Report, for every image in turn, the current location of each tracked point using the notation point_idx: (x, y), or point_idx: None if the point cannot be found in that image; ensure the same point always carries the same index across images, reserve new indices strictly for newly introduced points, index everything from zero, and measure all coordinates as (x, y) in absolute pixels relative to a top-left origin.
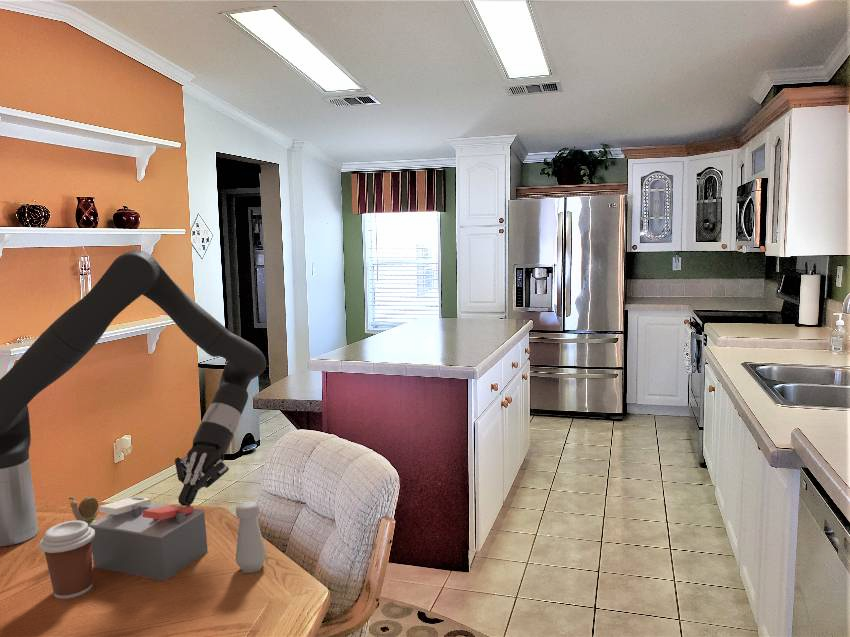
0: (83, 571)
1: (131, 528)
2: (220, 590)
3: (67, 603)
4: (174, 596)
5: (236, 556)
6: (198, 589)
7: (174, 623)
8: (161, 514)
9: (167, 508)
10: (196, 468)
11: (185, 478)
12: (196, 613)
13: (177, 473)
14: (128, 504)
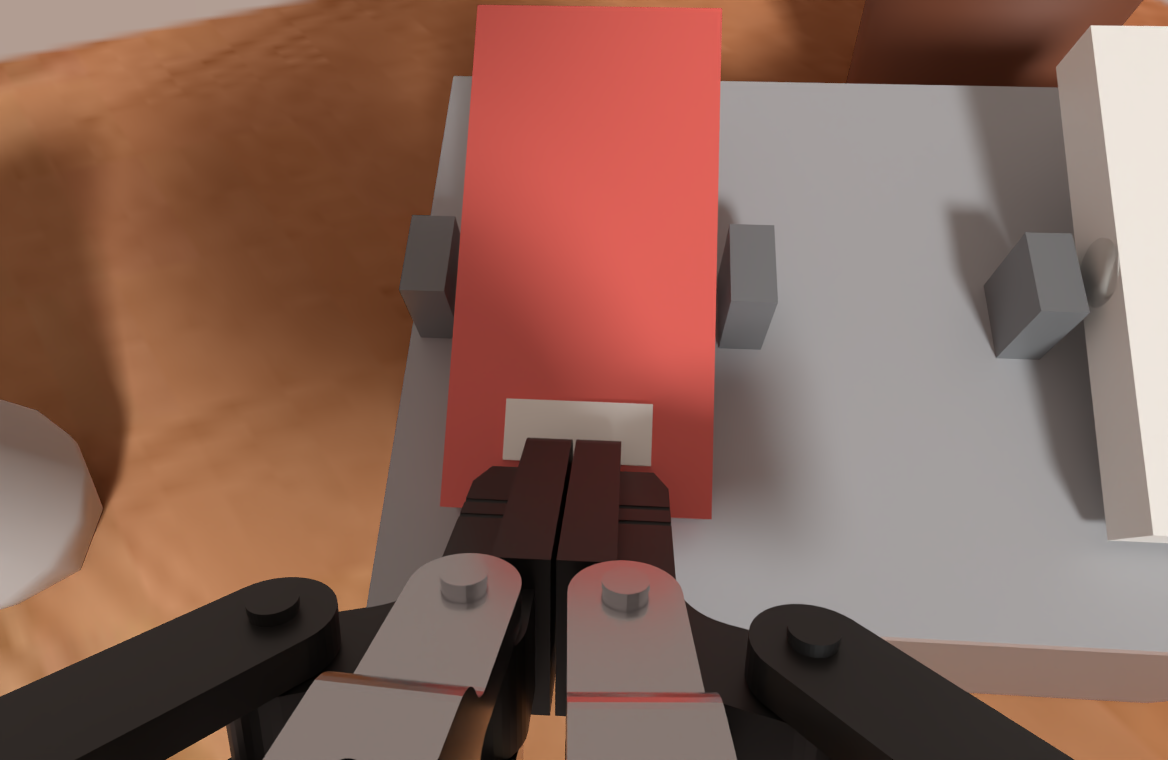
0: (865, 8)
1: (813, 115)
2: (137, 281)
3: (837, 35)
4: (358, 186)
5: (41, 423)
6: (265, 261)
7: (237, 42)
8: (479, 21)
9: (600, 238)
10: (415, 756)
11: (678, 627)
12: (173, 111)
13: (984, 708)
14: (1142, 204)
